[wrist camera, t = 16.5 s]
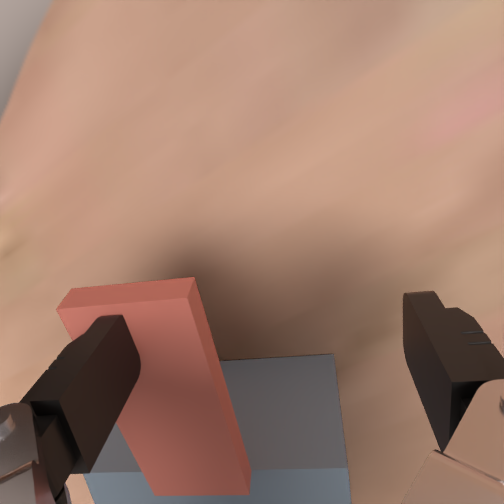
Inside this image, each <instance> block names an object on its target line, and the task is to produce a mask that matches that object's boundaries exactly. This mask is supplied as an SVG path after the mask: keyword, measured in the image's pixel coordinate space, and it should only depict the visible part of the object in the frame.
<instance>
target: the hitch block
mask: <svg viewBox="0 0 504 504" xmlns="http://www.w3.org/2000/svg"><path fill="white" fill-rule="evenodd" d="M219 362H220V365H221V369H222V372H223V376H224V379H225V382H226V386H227V389H228V393H229V396H230V399H231V403H232V406H233V410H234V413H235V416H236V420H237V423H238V427H239V430H240V433H241V437H242V440H243V444H244V447H245V450H246V454H247V457H248V461H249V464H250V467H251V482H250V494H249V495H203V496H155V495H154V493H153V491H152V489H151V488H150V486H149V484H148V482H147V480H146V478H145V476H144V474H143V473H142V471H141V469H140V467H139V465H138V463H137V461H136V459H135V457H134V456H133V454H132V452H131V450H130V448H129V446H128V444H127V442H126V440H125V439H124V437H123V435H122V433H121V431H120V429H119V427H118V425H117V423H115V425H114V427H113V429H112V431H111V433H110V435H109V437H108V439H107V441H106V443H105V444H104V446H103V448H102V450H101V452H100V454H99V456H98V458H97V460H96V462H95V464H94V466H93V468H92V470H91V472H90V474H83V475H84V478H85V480H86V483H87V485H88V488H89V490H90V493H91V495H92V498H93V500H94V503H95V504H351V493H350V483H349V472H348V463H347V455H346V447H345V439H344V431H343V423H342V415H341V407H340V399H339V391H338V383H337V375H336V367H335V359H334V354H327V355H310V356H294V357H278V358H262V359H245V360H229V361H219Z"/></svg>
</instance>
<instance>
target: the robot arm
mask: <svg viewBox="0 0 504 504" xmlns="http://www.w3.org/2000/svg"><path fill="white" fill-rule="evenodd" d="M403 346H404V353H405V358H406V362H407V365H408V368H409V370H410V373H411V375H412V378H413V380H414V383H415V386H416V388H417V391H418V393H419V396H420V398H421V401H422V404H423V406H424V409H425V411H426V414H427V416H428V419H429V422H430V424H431V427H432V429H433V432H434V435H435V437H436V440H437V442H438V445H439V447H440V450H441V451H439V450H433V451H432V452H431V453H430V454H429V456H428V457H427V459H426V461H425V462H424V464H423V466H422V468H421V469H420V471H419V473H418V475H417V476H416V478H415V480H414V482H413V483H412V485H411V487H410V489H409V490H408V492H407V494H406V496H405V497H404V499H403V501H402V503H401V504H504V358H503V357H502V355H501V354H500V353H499V351H498V350H497V348H496V347H495V346H494V344H491V340H490V339H489V338H488V336H487V335H486V334H485V333H484V332H483V329H482V328H481V327H480V325H479V324H478V323H477V321H476V320H475V319H474V317H472V316H470V315H469V314H467V313H465V312H464V311H462V310H461V309H459V308H445V307H444V305H443V304H442V302H441V301H440V299H439V298H438V296H437V294H436V293H435V292H434V291H424V292H411V293H404V296H403ZM140 370H141V360H140V356H139V353H138V350H137V348H136V346H135V343H134V341H133V338H132V336H131V334H130V331H129V329H128V326H127V324H126V321H125V319H124V317H123V315H114V316H101V317H98V318H97V319H96V320H95V321H94V322H93V323H92V325H91V326H90V327H89V328H88V330H87V331H86V332H85V333H84V334H82V335H81V336H79V337H78V338H76V339H75V340H74V341H72V342H71V343H69V344H68V345H67V346H66V347H65V348H64V349H63V351H62V352H61V353H60V354H59V355H58V357H57V360H54V361H53V363H52V364H51V365H50V366H49V369H48V370H46V371H45V372H44V373H43V374H42V376H41V377H40V378H39V379H38V380H37V382H36V383H35V384H34V385H33V386H32V388H31V389H30V390H29V391H28V392H27V394H26V395H25V396H24V397H23V398H22V400H21V401H20V402H19V403H12V404H7V405H4V406H1V407H0V504H71V499H70V494H69V490H68V488H67V486H66V484H65V482H66V480H67V478H68V477H69V475H70V474H90V472H91V470H92V468H93V466H94V464H95V462H96V460H97V458H98V456H99V454H100V452H101V450H102V448H103V446H104V444H105V443H106V441H107V439H108V437H109V435H110V433H111V431H112V429H113V427H114V425H115V423H116V421H117V419H118V417H119V415H120V413H121V411H122V409H123V407H124V406H125V404H126V402H127V400H128V398H129V396H130V394H131V392H132V390H133V388H134V386H135V384H136V382H137V380H138V378H139V375H140Z"/></svg>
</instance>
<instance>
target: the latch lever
mask: <svg viewBox="0 0 504 504" xmlns="http://www.w3.org/2000/svg"><path fill="white" fill-rule="evenodd" d="M56 310H57V312H58V314H59V316H60V318H61V320H62V322H63V324H64V325H65V327H66V329H67V331H68V333H69V335H70V337H71V339H72V340H73V341H74V340H75V339H76V338H78V337H79V336H81V335H82V334H84V333H85V332H86V331H87V330H88V328H89V327H90V326H91V325H92V323H93V322H94V321H95V320H96V319H97V318H98V317H101V316H114V315H123V317H124V319H125V321H126V324H127V326H128V329H129V331H130V334H131V336H132V338H133V341H134V343H135V346H136V348H137V350H138V353H139V356H140V360H141V370H140V375H139V378H138V380H137V382H136V384H135V386H134V388H133V390H132V392H131V394H130V396H129V398H128V400H127V402H126V404H125V406H124V407H123V409H122V411H121V413H120V415H119V417H118V419H117V421H116V423H117V425H118V427H119V429H120V431H121V433H122V435H123V437H124V439H125V440H126V442H127V444H128V446H129V448H130V450H131V452H132V454H133V456H134V457H135V459H136V461H137V463H138V465H139V467H140V469H141V471H142V473H143V474H144V476H145V478H146V480H147V482H148V484H149V486H150V488H151V489H152V491H153V493H154V495H155V496H203V495H249V494H250V482H251V467H250V464H249V461H248V457H247V454H246V450H245V447H244V444H243V440H242V437H241V433H240V430H239V427H238V423H237V420H236V416H235V413H234V410H233V406H232V403H231V399H230V396H229V393H228V389H227V386H226V382H225V379H224V376H223V372H222V369H221V365H220V362H219V359H218V355H217V352H216V348H215V345H214V342H213V338H212V335H211V331H210V328H209V325H208V321H207V318H206V314H205V311H204V308H203V304H202V301H201V297H200V294H199V291H198V287H197V284H196V280H195V277H188V278H178V279H168V280H157V281H147V282H136V283H126V284H115V285H105V286H95V287H84V288H74V289H71V290H70V291H69V293H68V294H67V295H66V297H65V298H64V299H63V301H62V302H61V303H60V305H59V306H58V307H57V309H56Z"/></svg>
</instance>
